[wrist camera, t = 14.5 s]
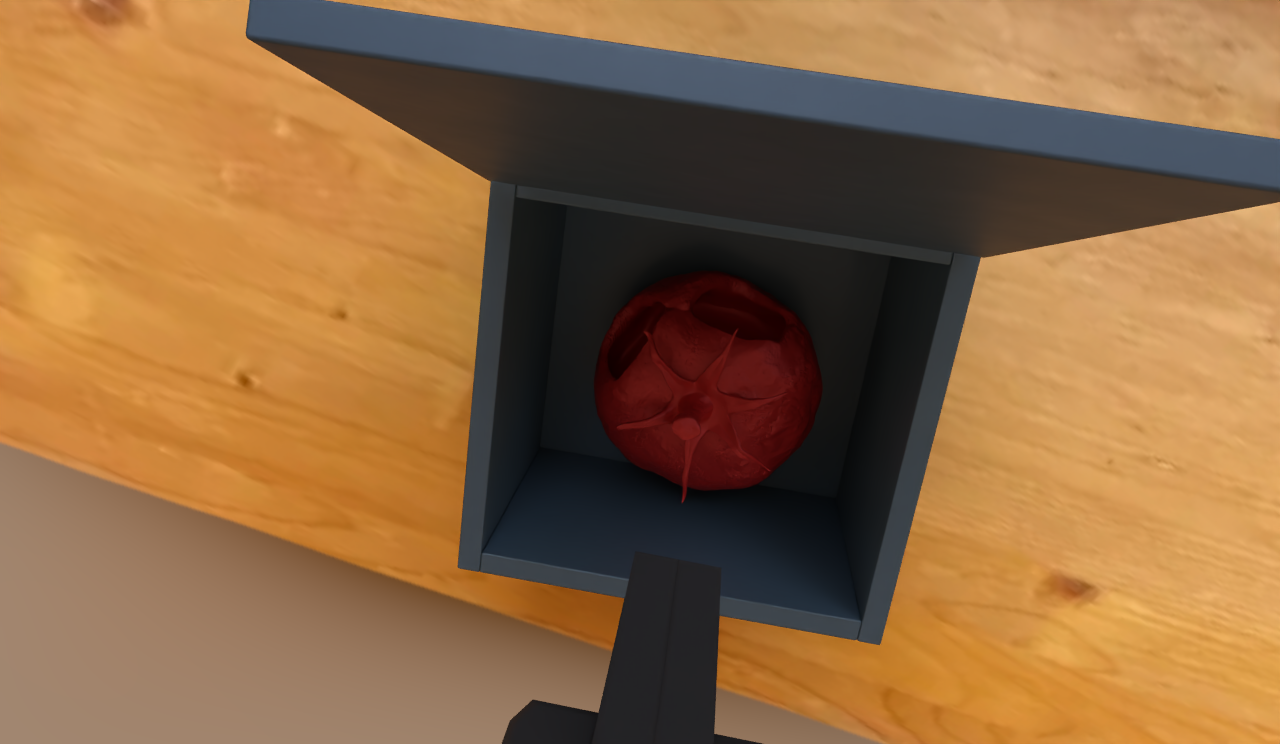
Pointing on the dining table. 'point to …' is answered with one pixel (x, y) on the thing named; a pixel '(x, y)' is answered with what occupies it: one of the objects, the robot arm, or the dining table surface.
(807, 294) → the box
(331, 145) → the dining table surface
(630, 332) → the red tomato
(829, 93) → the lid
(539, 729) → the robot arm
